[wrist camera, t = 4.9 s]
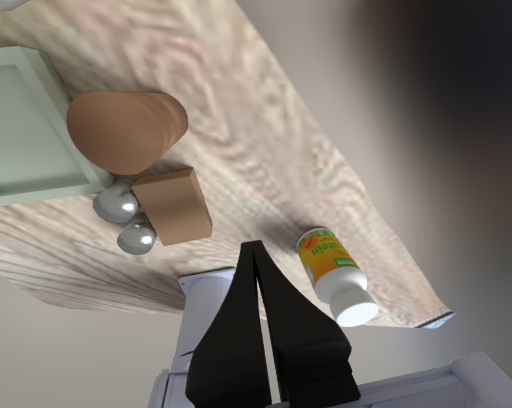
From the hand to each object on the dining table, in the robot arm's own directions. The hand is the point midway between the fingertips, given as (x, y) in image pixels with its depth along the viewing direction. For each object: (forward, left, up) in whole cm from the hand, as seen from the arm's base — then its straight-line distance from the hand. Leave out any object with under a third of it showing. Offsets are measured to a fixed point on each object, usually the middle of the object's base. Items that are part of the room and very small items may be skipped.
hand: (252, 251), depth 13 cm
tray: (+8, +16, -8) cm, 20 cm away
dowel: (+8, +5, -8) cm, 13 cm away
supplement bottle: (-9, -9, -9) cm, 15 cm away
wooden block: (0, +7, -9) cm, 11 cm away
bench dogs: (0, +11, -8) cm, 14 cm away
